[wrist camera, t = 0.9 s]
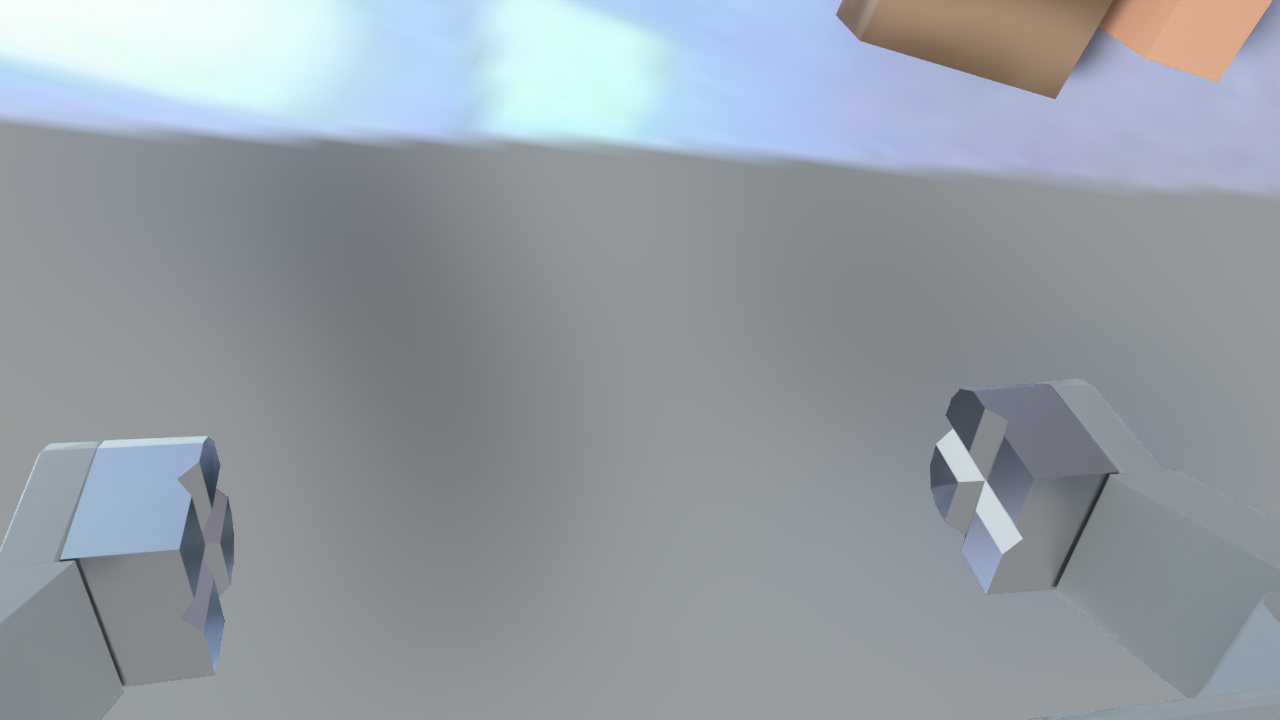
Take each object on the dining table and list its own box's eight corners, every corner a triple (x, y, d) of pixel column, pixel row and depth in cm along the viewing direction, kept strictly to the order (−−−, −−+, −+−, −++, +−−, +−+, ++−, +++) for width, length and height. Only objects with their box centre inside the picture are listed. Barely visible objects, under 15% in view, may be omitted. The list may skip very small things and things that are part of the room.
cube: (1147, -69, 54) (1205, -39, 50) (1218, -42, 55) (1280, -11, 52) (1093, 23, 56) (1144, 58, 53) (1162, 46, 58) (1217, 82, 54)
